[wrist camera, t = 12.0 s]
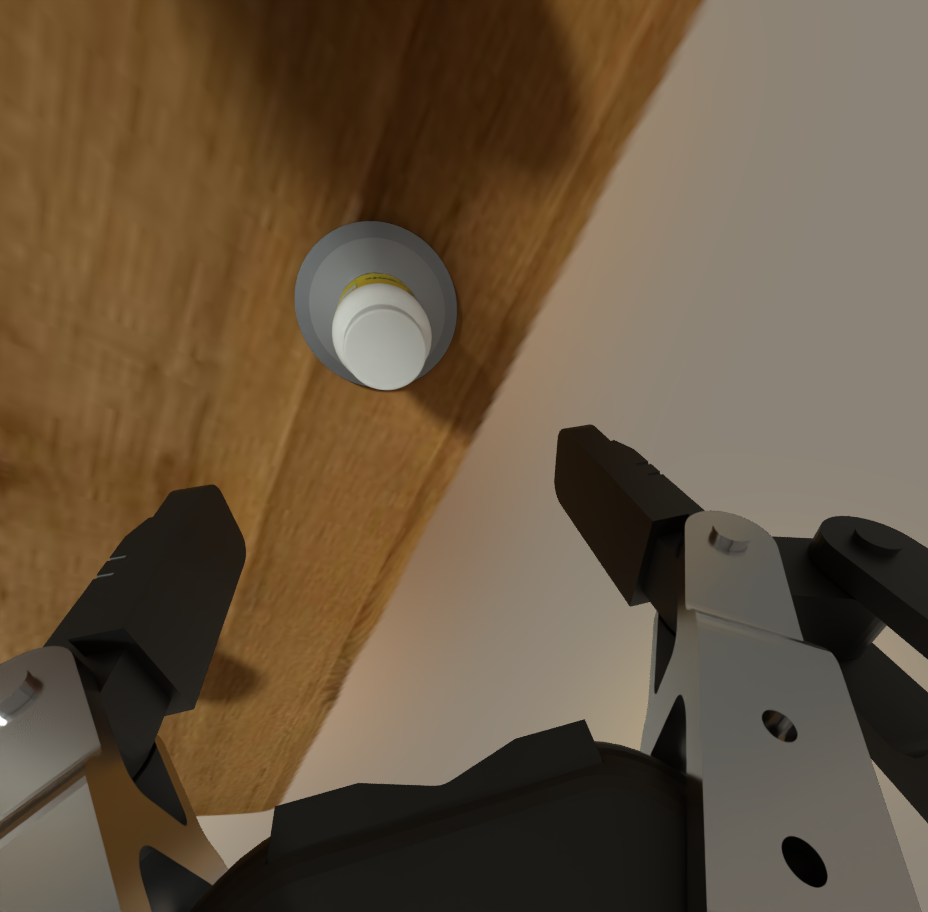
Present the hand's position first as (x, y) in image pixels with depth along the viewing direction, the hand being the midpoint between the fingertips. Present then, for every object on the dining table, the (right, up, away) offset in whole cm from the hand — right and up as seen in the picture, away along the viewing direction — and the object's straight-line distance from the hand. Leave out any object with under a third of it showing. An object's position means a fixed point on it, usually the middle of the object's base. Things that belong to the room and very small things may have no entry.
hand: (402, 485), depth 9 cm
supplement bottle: (-4, +11, +18) cm, 21 cm away
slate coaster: (-5, +11, +18) cm, 22 cm away
